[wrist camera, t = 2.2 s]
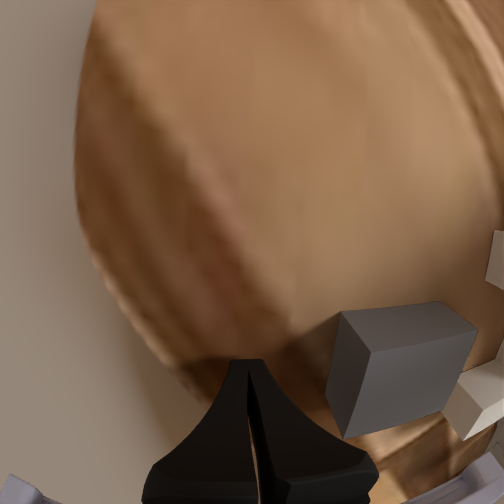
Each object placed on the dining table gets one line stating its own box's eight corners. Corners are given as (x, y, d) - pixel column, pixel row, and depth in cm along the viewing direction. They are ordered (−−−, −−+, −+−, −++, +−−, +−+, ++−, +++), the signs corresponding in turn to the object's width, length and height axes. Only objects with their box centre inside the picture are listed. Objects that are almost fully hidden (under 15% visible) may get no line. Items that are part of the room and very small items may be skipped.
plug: (452, 297, 13) (492, 325, 9) (428, 370, 14) (457, 403, 11) (338, 309, 12) (371, 352, 9) (323, 391, 13) (343, 439, 10)
